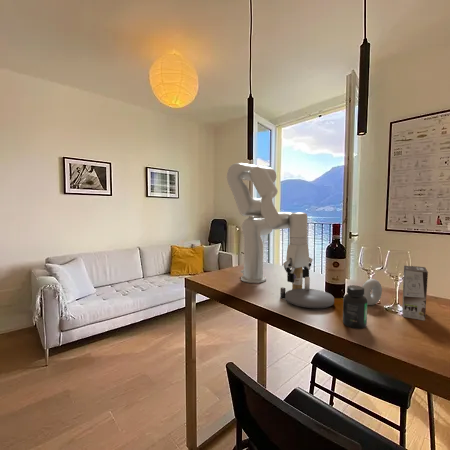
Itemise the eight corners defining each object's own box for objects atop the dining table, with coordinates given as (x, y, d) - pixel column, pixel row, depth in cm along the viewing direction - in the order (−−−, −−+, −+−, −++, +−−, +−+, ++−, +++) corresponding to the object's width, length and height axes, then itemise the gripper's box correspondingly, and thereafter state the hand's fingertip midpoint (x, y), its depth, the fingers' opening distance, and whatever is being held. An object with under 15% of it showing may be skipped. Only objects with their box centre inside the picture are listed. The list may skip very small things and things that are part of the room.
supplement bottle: (371, 328, 84) (373, 290, 83) (351, 330, 83) (352, 291, 82) (357, 319, 91) (358, 283, 90) (338, 320, 90) (339, 284, 89)
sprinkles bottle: (290, 291, 120) (290, 261, 119) (294, 288, 124) (295, 259, 123) (299, 293, 117) (300, 262, 116) (304, 290, 121) (304, 260, 120)
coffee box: (425, 321, 89) (428, 272, 88) (402, 317, 93) (404, 269, 91) (423, 311, 97) (425, 266, 96) (401, 308, 100) (403, 264, 99)
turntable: (338, 309, 96) (339, 291, 96) (285, 306, 100) (286, 288, 99) (328, 291, 116) (328, 276, 115) (284, 289, 119) (284, 274, 119)
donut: (366, 308, 100) (367, 281, 99) (358, 305, 103) (358, 279, 102) (383, 304, 105) (384, 278, 104) (375, 301, 108) (376, 276, 107)
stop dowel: (279, 297, 112) (279, 288, 112) (282, 296, 114) (282, 287, 113) (282, 299, 111) (283, 289, 110) (286, 298, 112) (286, 288, 112)
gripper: (304, 238, 127) (304, 275, 128) (277, 242, 117) (277, 281, 118) (318, 240, 120) (318, 278, 122) (290, 243, 111) (291, 285, 112)
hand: (298, 280), depth 120 cm, fingers open, 9 cm apart
